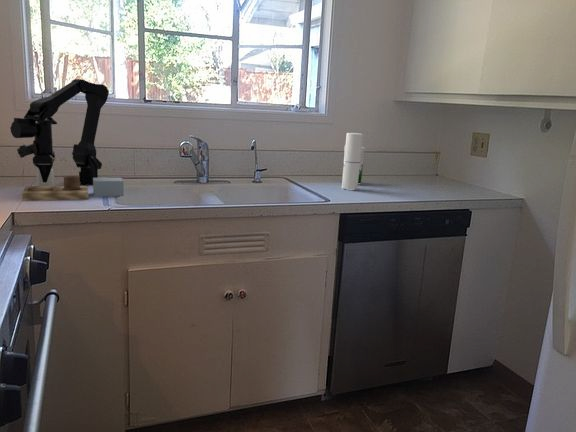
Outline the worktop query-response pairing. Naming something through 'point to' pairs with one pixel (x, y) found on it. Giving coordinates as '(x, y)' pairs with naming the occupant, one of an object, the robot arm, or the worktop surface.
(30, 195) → the socket board
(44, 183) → the eye dropper bottle
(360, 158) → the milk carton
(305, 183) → the worktop surface
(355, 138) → the cylindrical container
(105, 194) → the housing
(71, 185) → the walnut peg
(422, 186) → the worktop surface
